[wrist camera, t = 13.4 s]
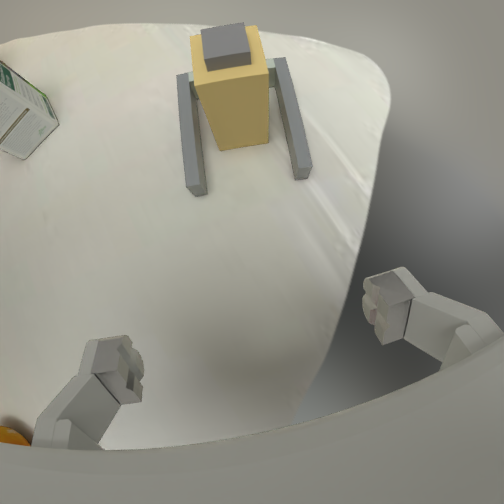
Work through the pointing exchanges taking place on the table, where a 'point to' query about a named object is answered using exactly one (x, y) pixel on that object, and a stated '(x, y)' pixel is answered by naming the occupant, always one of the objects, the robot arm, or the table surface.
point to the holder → (290, 117)
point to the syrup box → (22, 114)
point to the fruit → (12, 437)
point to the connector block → (232, 84)
